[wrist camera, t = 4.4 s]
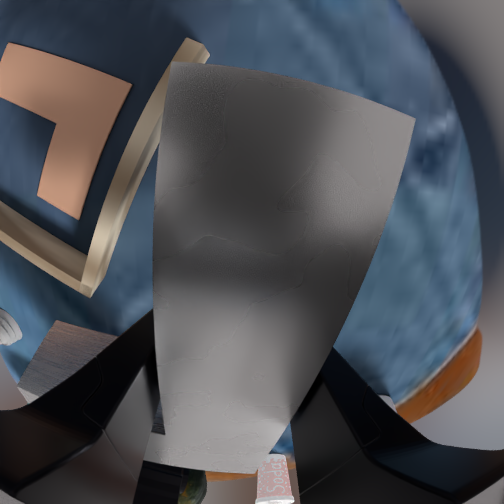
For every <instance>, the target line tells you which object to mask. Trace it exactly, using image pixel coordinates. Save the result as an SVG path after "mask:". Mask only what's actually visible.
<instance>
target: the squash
mask: <svg viewBox="0 0 504 504" xmlns="http://www.w3.org/2000/svg"><path fill="white" fill-rule="evenodd" d="M206 491H207V480H206V475H205V470H198V469H190V468H189V477H188V482H187V486H186V488H185V491H184V492H183V493H180V494H179V499H178V504H201V502H202V500H203V499H204V497H205V495H206Z"/></svg>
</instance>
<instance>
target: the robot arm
mask: <svg viewBox="0 0 504 504" xmlns="http://www.w3.org/2000/svg"><path fill="white" fill-rule="evenodd" d="M159 402H160V390H159V381H158V371H157V360H156V347H155V332H154V311H153V309H151V310H150V311H149V312H148V313H147V314H145V315H144V316H143V317H142V318H141V319H139V320H138V321H137V322H136V323H134V324H133V325H132V326H131V327H130V328H128V329H127V330H126V331H125V332H124V333H122V334H121V335H120V336H119V337H118V338H116V339H115V340H114V341H113V342H112V343H110V344H109V345H108V346H107V347H106V348H104V349H103V350H102V351H101V352H100V353H99V354H97V355H96V357H94V358H92V359H91V360H90V361H89V362H88V363H87V364H85V365H84V366H83V367H82V368H80V369H79V370H78V371H77V372H75V373H74V374H73V375H71V376H70V377H68V378H67V379H65V380H64V381H63V382H61V383H60V384H58V385H57V386H55V387H54V388H52V389H51V390H49V391H48V392H46V393H45V394H43V395H42V396H40V397H39V398H37V399H35V400H34V401H32V402H31V403H29V404H27V405H25V406H23V407H21V408H18V409H14V410H0V504H178V499H179V494H180V493H183V492H184V491H185V488H186V486H187V482H188V477H189V468H183V467H177V466H171V465H165V464H160V463H155V462H150V461H146V460H143V459H144V455H145V452H146V448H147V444H148V441H149V437H150V433H151V430H152V426H153V423H154V419H155V416H156V412H157V409H158V405H159ZM290 424H291V432H292V439H293V447H294V455H295V462H296V470H297V478H298V486H299V494H300V503H301V504H504V449H503V450H494V451H493V450H480V449H479V450H478V449H469V448H461V447H453V446H446V445H441V444H437V443H434V442H432V441H430V440H429V439H427V438H426V437H424V436H423V435H422V434H421V433H420V432H418V431H417V430H416V429H415V428H414V427H412V426H411V425H410V424H409V423H408V422H407V421H406V420H404V419H403V418H402V417H401V416H400V415H399V414H397V413H396V412H395V411H394V410H393V409H392V408H391V407H390V406H389V405H388V404H387V403H386V402H385V401H384V400H383V399H382V398H381V397H380V396H379V395H378V394H377V393H376V392H375V391H374V390H373V389H372V388H371V387H370V386H368V384H367V383H366V382H365V381H364V380H363V379H362V377H361V376H360V375H359V374H358V373H357V372H356V371H355V370H354V369H353V368H352V367H351V366H350V365H349V364H348V362H347V361H346V360H345V359H344V358H343V357H342V356H341V355H340V354H339V353H338V352H337V351H336V350H335V349H334V347H332V349H331V351H330V353H329V355H328V356H327V358H326V360H325V362H324V364H323V366H322V368H321V370H320V371H319V373H318V375H317V377H316V379H315V380H314V382H313V384H312V386H311V387H310V389H309V391H308V393H307V394H306V396H305V398H304V399H303V401H302V403H301V404H300V406H299V408H298V409H297V411H296V413H295V414H294V416H293V418H292V419H291V421H290Z"/></svg>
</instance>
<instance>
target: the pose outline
mask: <svg viewBox="0 0 504 504" xmlns="http://www.w3.org/2000/svg"><path fill="white" fill-rule="evenodd" d="M132 86H133V85H132V84H130V83H128V82H125V81H123V80H121V79H118V78H116V77H113V76H111V75H108V74H106V73H103V72H101V71H98V70H95V69H93V68H90V67H87V66H85V65H82V64H79V63H76V62H73V61H70V60H68V59H65V58H62V57H58V56H55V55H52V54H49V53H46V52H42V51H39V50H36V49H32V48H28V47H25V46H21V45H17V44H13V43H8V44H7V47H6V49H5V51H4V54H3V56H2V59H1V61H0V97H1V98H4V99H6V100H8V101H10V102H12V103H15V104H17V105H19V106H21V107H23V108H25V109H27V110H30V111H32V112H34V113H36V114H38V115H40V116H42V117H44V118H46V119H48V120H51V121H53V122H55V123H57V124H56V127H55V130H54V133H53V136H52V139H51V143H50V146H49V149H48V153H47V156H46V160H45V164H44V168H43V171H42V176H41V180H40V184H39V189H38V193H37V196H39V197H40V198H42V199H44V200H45V201H47V202H49V203H50V204H52V205H54V206H55V207H57V208H59V209H60V210H62V211H64V212H66V213H67V214H69V215H71V216H72V217H74V218H76V219H78V220H79V219H80V216H81V213H82V209H83V206H84V203H85V199H86V196H87V193H88V190H89V187H90V184H91V181H92V178H93V175H94V172H95V170H96V167H97V164H98V161H99V159H100V156H101V154H102V151H103V149H104V146H105V144H106V141H107V139H108V136H109V134H110V132H111V129H112V127H113V125H114V123H115V120H116V118H117V116H118V114H119V112H120V110H121V107H122V105H123V103H124V101H125V99H126V97H127V95H128V93H129V91H130V89H131V88H132Z"/></svg>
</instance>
